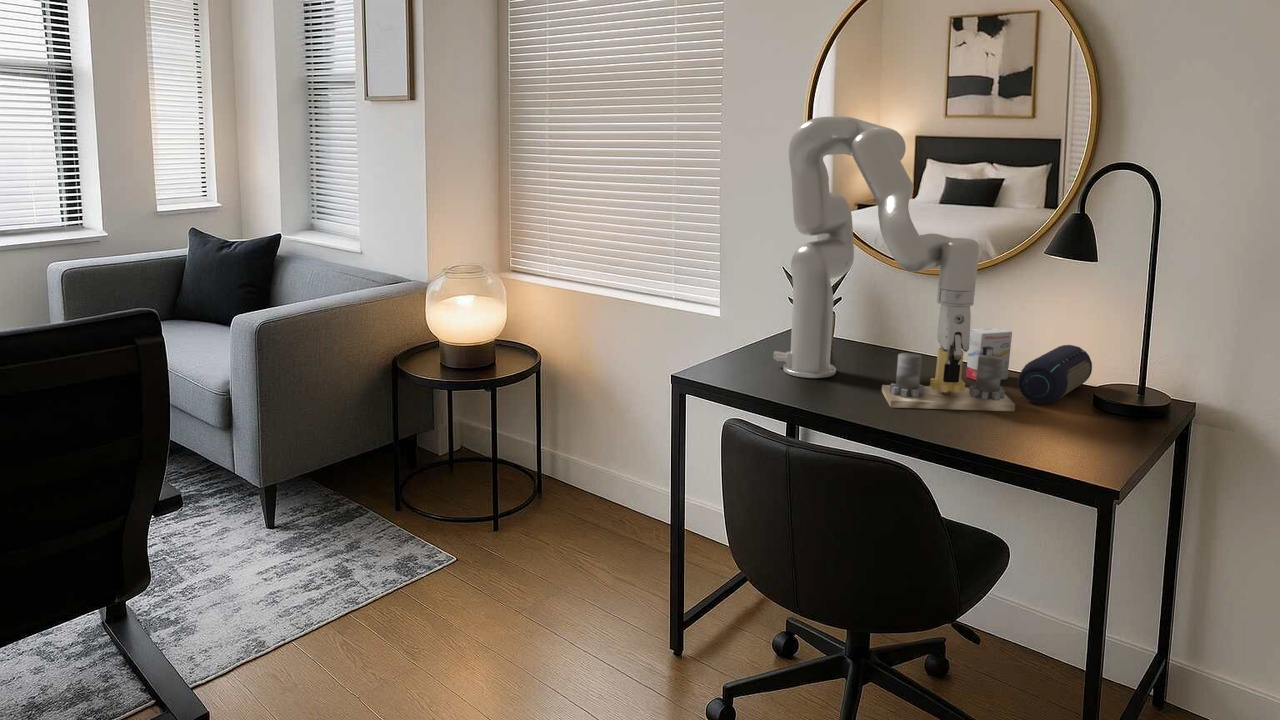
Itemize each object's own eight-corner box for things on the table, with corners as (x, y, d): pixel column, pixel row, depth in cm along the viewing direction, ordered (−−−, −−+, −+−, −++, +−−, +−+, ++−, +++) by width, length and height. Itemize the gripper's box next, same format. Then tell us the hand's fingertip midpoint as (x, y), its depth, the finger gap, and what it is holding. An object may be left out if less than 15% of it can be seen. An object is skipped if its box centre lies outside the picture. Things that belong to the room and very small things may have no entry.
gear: (934, 392, 210) (937, 354, 208) (927, 382, 217) (930, 345, 214) (967, 393, 209) (971, 355, 207) (959, 383, 216) (963, 346, 214)
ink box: (977, 382, 228) (982, 333, 225) (964, 376, 233) (969, 328, 230) (1008, 379, 231) (1014, 331, 227) (995, 374, 235) (1000, 326, 232)
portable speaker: (1057, 412, 207) (1062, 367, 205) (1010, 402, 214) (1015, 358, 211) (1094, 387, 226) (1099, 345, 223) (1050, 379, 232) (1055, 338, 229)
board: (890, 407, 209) (894, 362, 206) (881, 391, 220) (884, 348, 218) (1014, 411, 207) (1019, 366, 204) (998, 394, 219) (1003, 351, 216)
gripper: (984, 305, 199) (975, 390, 204) (964, 289, 216) (956, 368, 220) (946, 304, 200) (938, 389, 205) (929, 288, 216) (922, 367, 221)
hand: (947, 377), depth 212 cm, fingers closed on gear, 5 cm apart
